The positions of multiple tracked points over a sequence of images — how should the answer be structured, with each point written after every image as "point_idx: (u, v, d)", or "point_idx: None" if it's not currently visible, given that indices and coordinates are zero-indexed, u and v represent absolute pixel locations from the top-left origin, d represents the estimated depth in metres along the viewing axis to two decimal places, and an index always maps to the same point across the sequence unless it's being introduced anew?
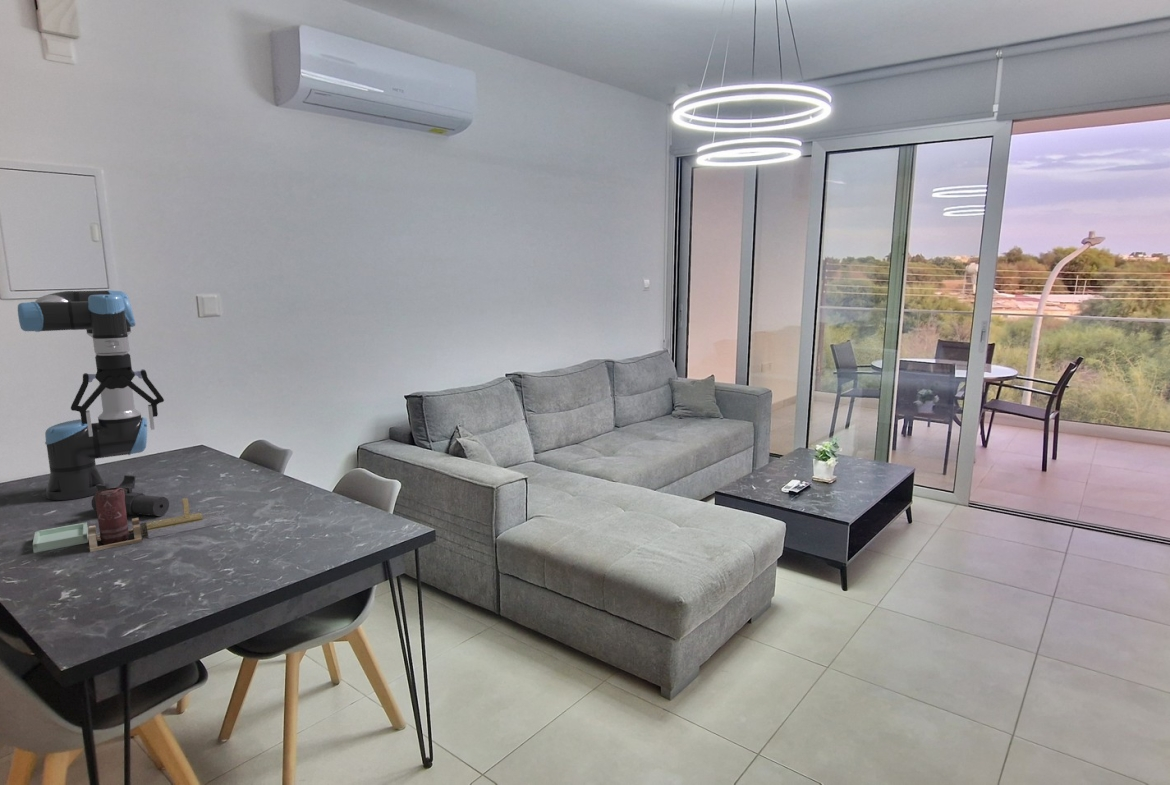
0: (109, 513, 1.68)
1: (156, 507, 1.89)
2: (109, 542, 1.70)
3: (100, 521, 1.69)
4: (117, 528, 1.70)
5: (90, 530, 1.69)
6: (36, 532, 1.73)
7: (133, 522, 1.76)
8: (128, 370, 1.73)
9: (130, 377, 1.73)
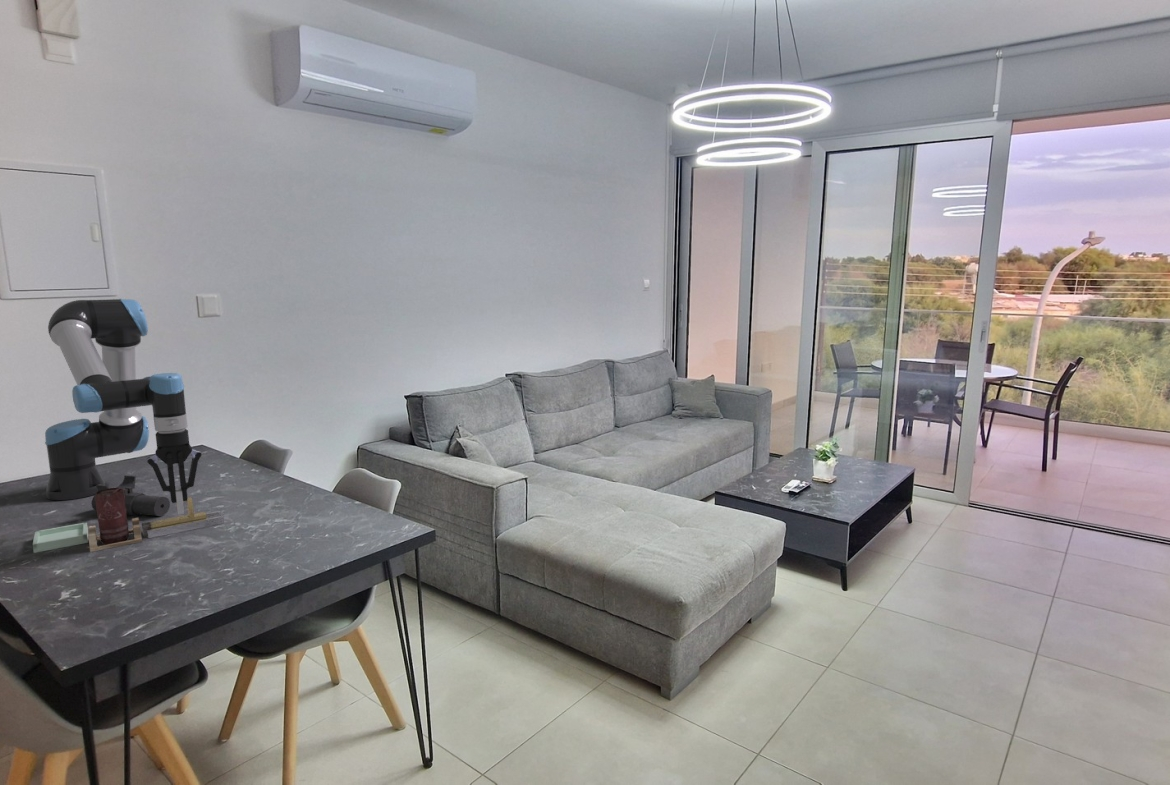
0: (109, 513, 1.68)
1: (157, 507, 1.89)
2: (109, 542, 1.70)
3: (100, 521, 1.69)
4: (117, 528, 1.70)
5: (90, 530, 1.69)
6: (36, 532, 1.73)
7: (133, 522, 1.76)
8: (186, 445, 1.79)
9: (188, 452, 1.79)
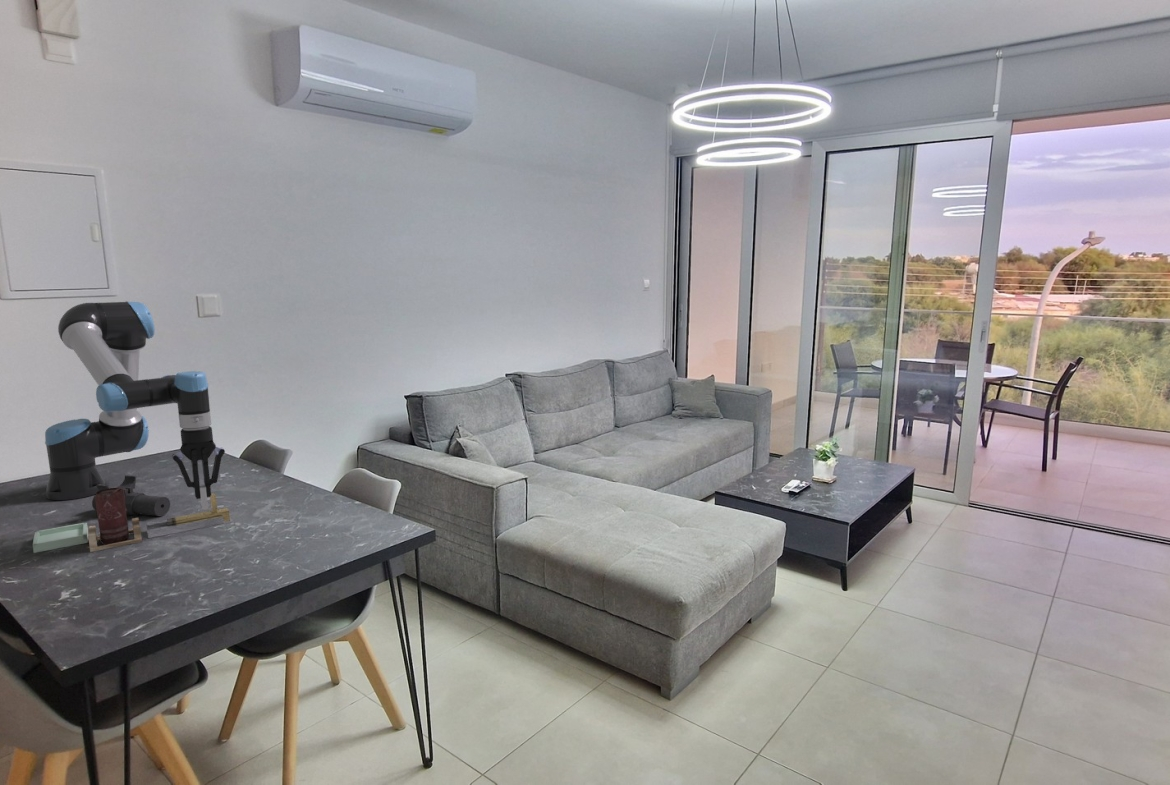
0: (109, 513, 1.68)
1: (157, 507, 1.89)
2: (109, 542, 1.70)
3: (100, 521, 1.69)
4: (117, 528, 1.70)
5: (90, 530, 1.69)
6: (36, 532, 1.73)
7: (133, 522, 1.76)
8: (210, 442, 1.82)
9: (212, 449, 1.82)
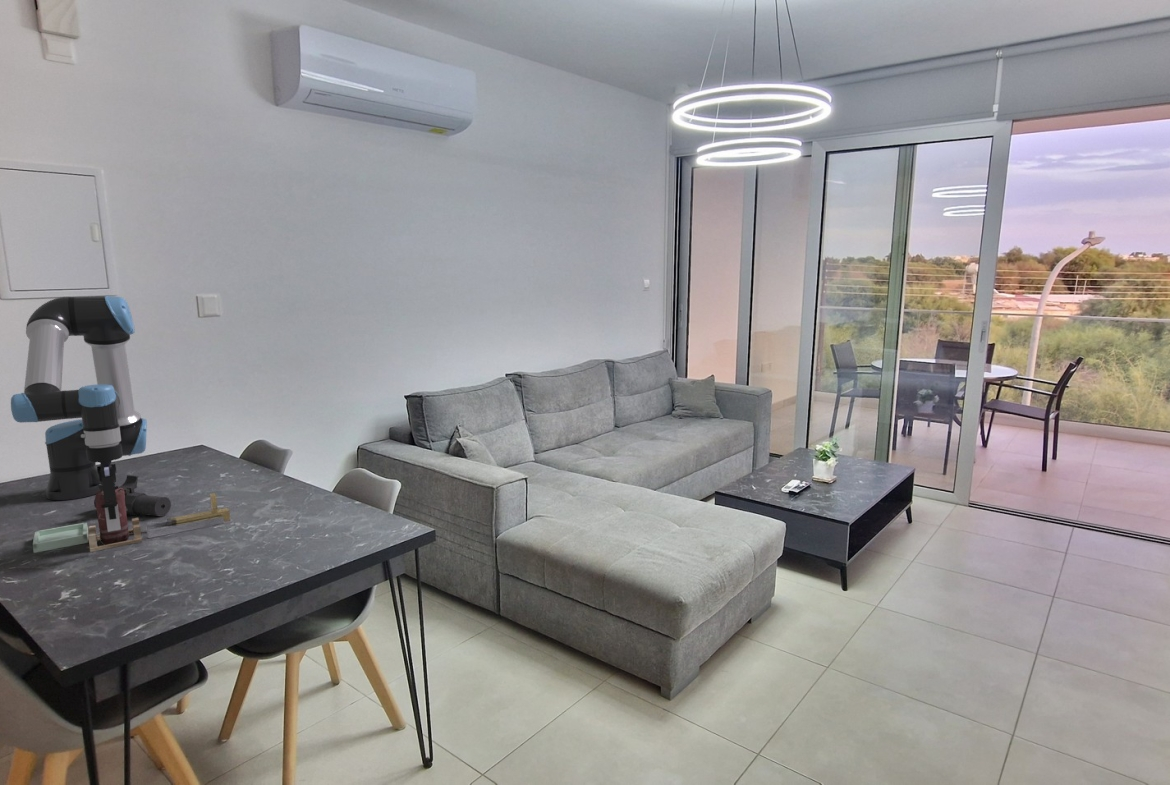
0: None
1: (157, 507, 1.89)
2: (109, 542, 1.70)
3: (100, 521, 1.69)
4: None
5: (90, 530, 1.69)
6: (36, 532, 1.73)
7: (133, 522, 1.76)
8: None
9: None
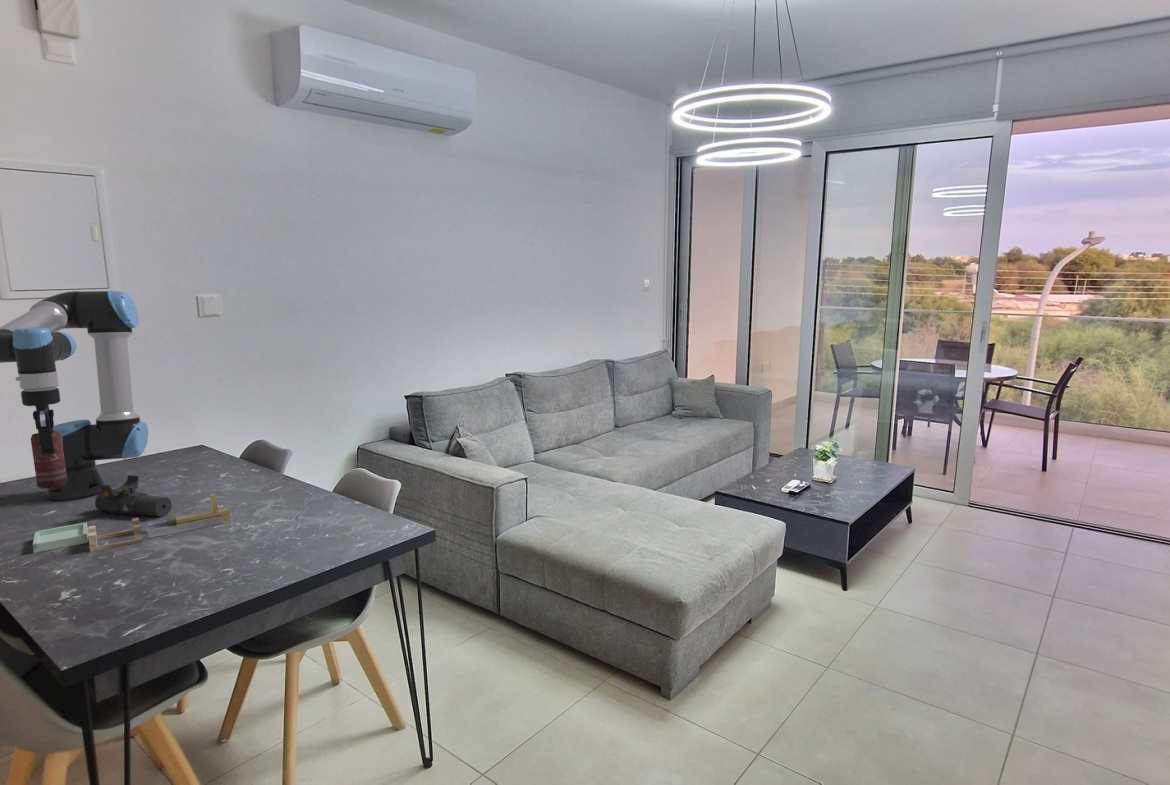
0: (44, 455, 1.65)
1: (158, 507, 1.89)
2: (45, 485, 1.66)
3: (36, 463, 1.66)
4: (53, 471, 1.67)
5: (90, 530, 1.69)
6: (36, 532, 1.73)
7: (133, 522, 1.76)
8: (36, 408, 1.63)
9: (37, 416, 1.63)
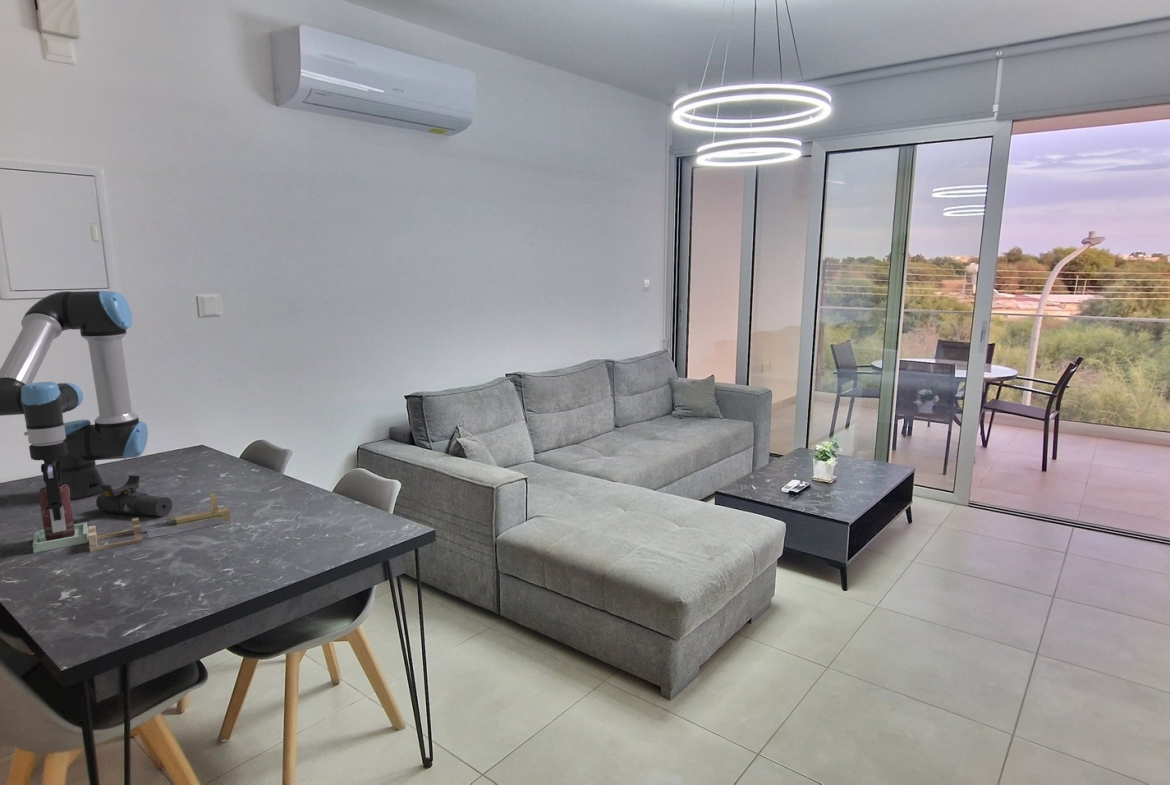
0: None
1: (158, 507, 1.89)
2: (53, 539, 1.69)
3: (44, 518, 1.68)
4: None
5: (90, 530, 1.69)
6: (36, 532, 1.73)
7: (133, 522, 1.76)
8: (44, 462, 1.66)
9: (45, 470, 1.66)
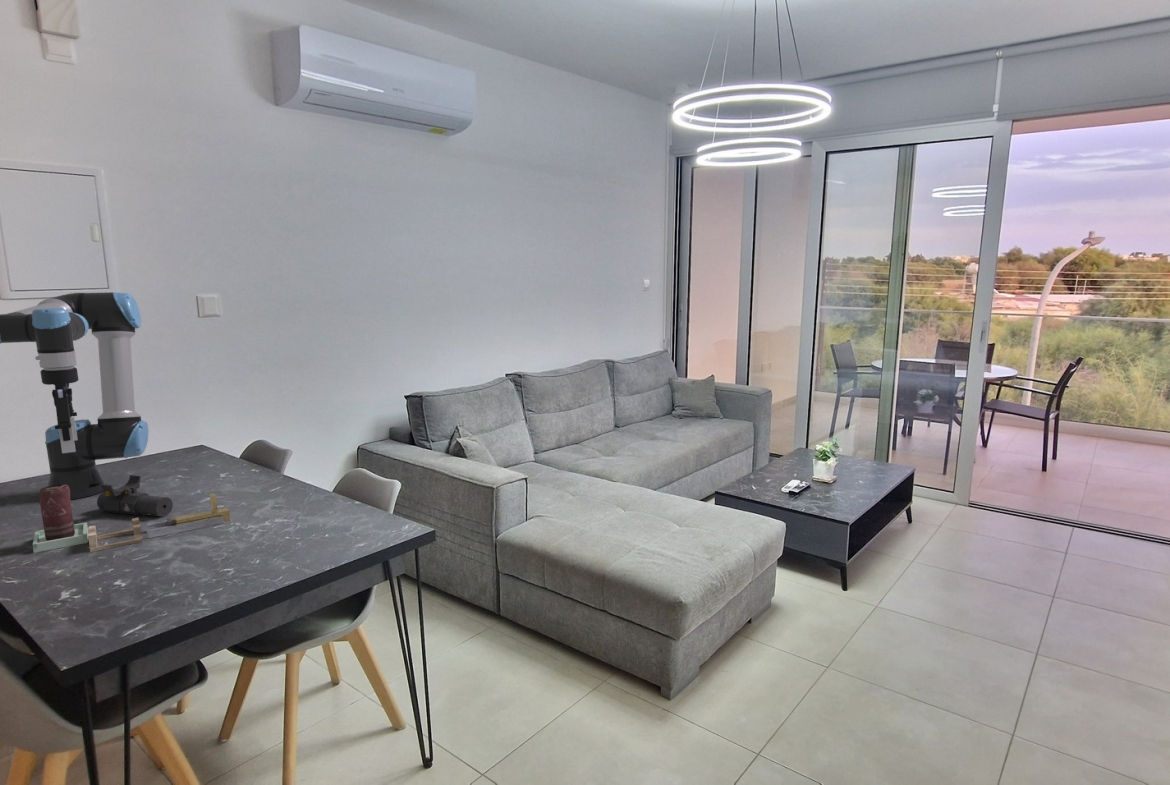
0: (52, 510, 1.68)
1: (159, 508, 1.88)
2: (53, 539, 1.69)
3: (44, 518, 1.68)
4: (61, 525, 1.69)
5: (90, 530, 1.69)
6: (36, 532, 1.73)
7: (133, 522, 1.76)
8: (55, 387, 1.68)
9: None
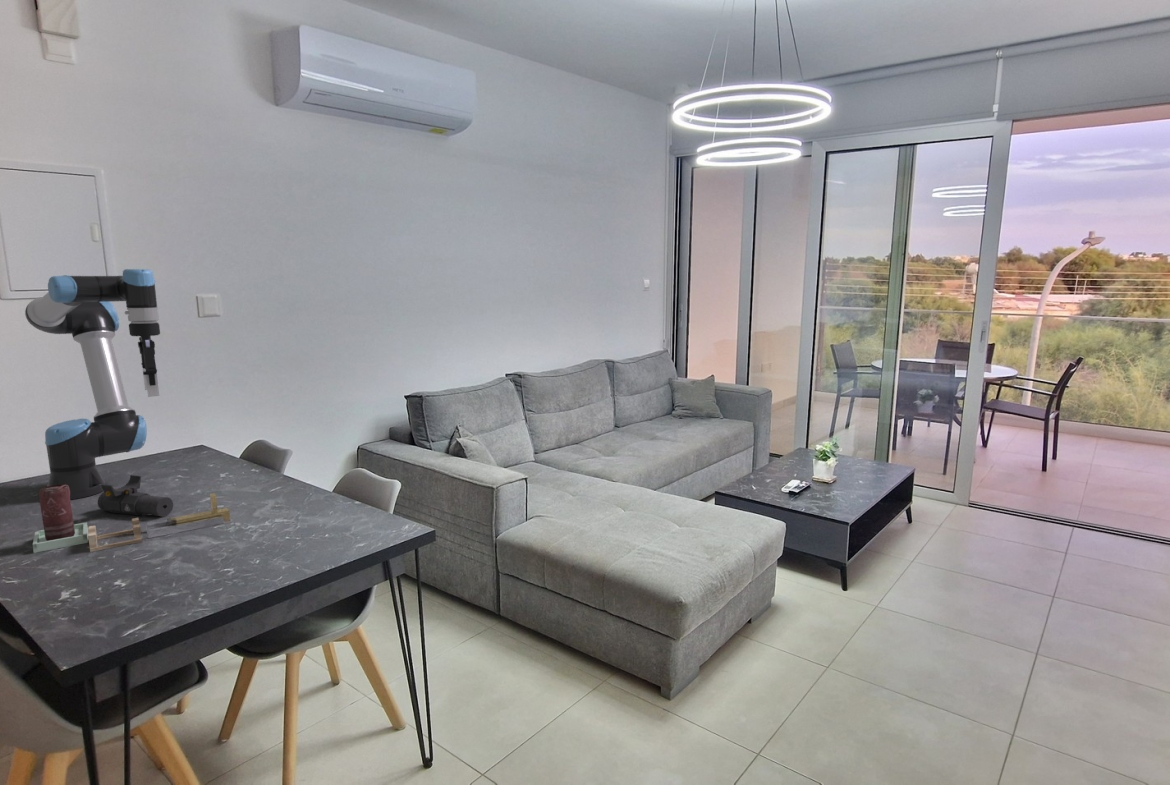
0: (52, 510, 1.68)
1: (159, 508, 1.88)
2: (53, 539, 1.69)
3: (44, 518, 1.68)
4: (61, 525, 1.69)
5: (90, 530, 1.69)
6: (36, 532, 1.73)
7: (133, 522, 1.76)
8: (142, 338, 1.90)
9: (142, 345, 1.90)
